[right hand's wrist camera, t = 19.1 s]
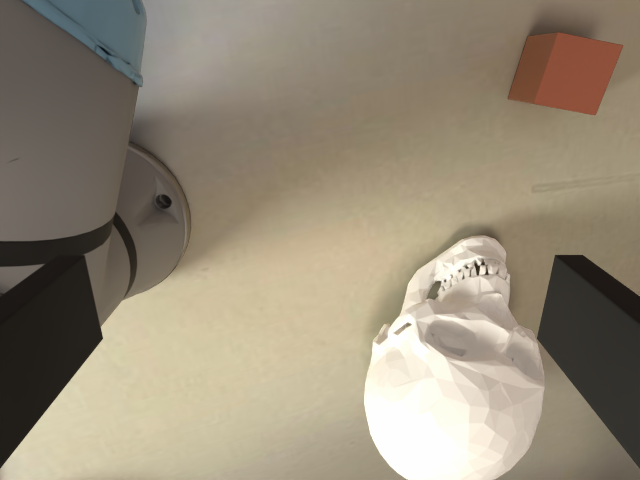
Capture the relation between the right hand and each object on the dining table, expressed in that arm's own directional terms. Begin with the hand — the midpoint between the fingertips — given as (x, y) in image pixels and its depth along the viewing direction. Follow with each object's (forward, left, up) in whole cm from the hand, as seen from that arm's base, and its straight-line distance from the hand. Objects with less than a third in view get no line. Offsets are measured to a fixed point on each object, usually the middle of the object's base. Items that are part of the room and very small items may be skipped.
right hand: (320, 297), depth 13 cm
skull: (-12, -19, -29) cm, 36 cm away
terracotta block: (+13, -15, -29) cm, 35 cm away
